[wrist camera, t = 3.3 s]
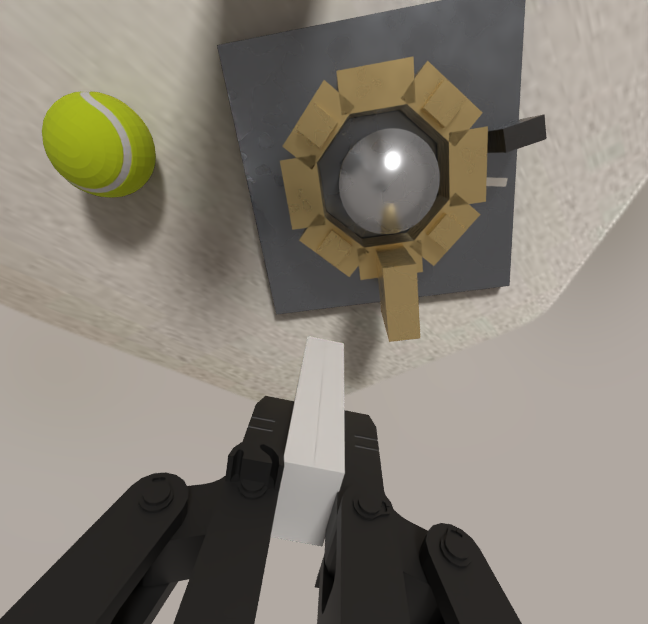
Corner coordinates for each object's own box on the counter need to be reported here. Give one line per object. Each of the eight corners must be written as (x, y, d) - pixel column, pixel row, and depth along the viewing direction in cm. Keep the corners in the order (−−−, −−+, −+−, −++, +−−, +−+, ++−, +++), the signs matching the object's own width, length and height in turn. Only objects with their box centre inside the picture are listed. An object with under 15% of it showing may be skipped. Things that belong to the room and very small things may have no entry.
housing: (278, 309, 33) (263, 347, 26) (222, 50, 25) (180, 12, 19) (503, 281, 31) (547, 314, 25) (517, -9, 23) (587, -74, 17)
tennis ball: (184, 134, 28) (140, 128, 21) (152, 209, 30) (103, 223, 24) (102, 78, 26) (29, 55, 20) (74, 161, 29) (2, 163, 23)
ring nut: (273, 91, 25) (246, 65, 18) (472, 55, 24) (531, 10, 16) (311, 306, 31) (303, 351, 24) (470, 286, 30) (511, 328, 23)
